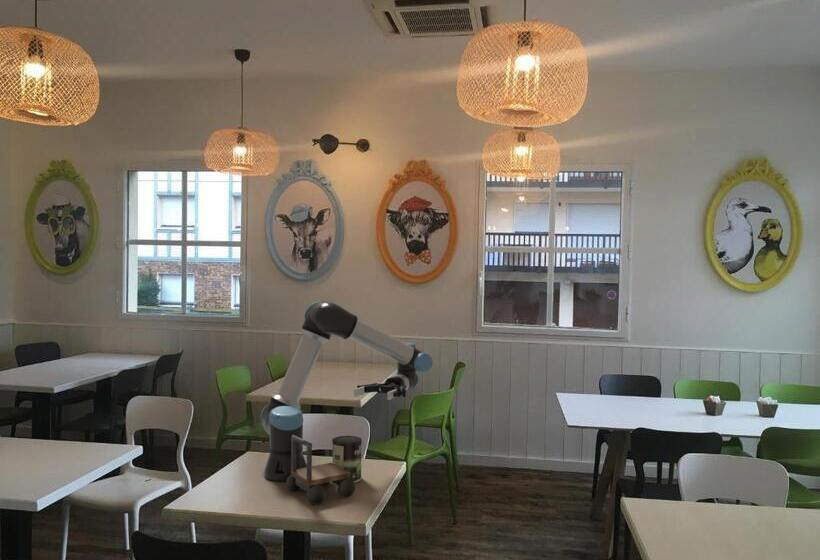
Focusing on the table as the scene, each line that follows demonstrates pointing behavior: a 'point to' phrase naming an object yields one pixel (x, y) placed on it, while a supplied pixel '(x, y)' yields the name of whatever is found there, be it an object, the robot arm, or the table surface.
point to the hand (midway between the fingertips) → (371, 394)
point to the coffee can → (348, 455)
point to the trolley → (317, 476)
